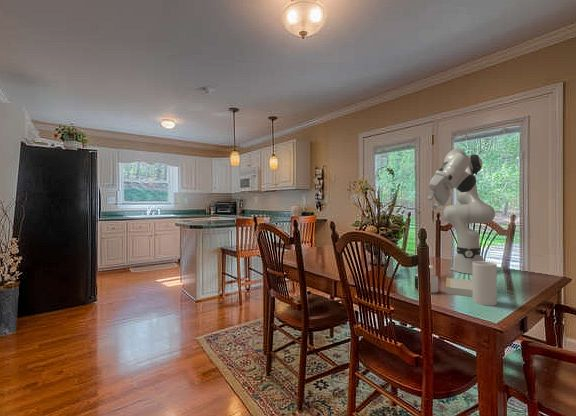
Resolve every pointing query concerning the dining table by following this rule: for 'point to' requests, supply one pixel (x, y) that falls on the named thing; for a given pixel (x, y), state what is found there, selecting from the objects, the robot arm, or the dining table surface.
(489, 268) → the cup
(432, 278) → the medicine bottle
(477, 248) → the robot arm
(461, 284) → the dock
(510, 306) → the dining table surface
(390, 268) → the candy bar box
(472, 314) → the dining table surface
